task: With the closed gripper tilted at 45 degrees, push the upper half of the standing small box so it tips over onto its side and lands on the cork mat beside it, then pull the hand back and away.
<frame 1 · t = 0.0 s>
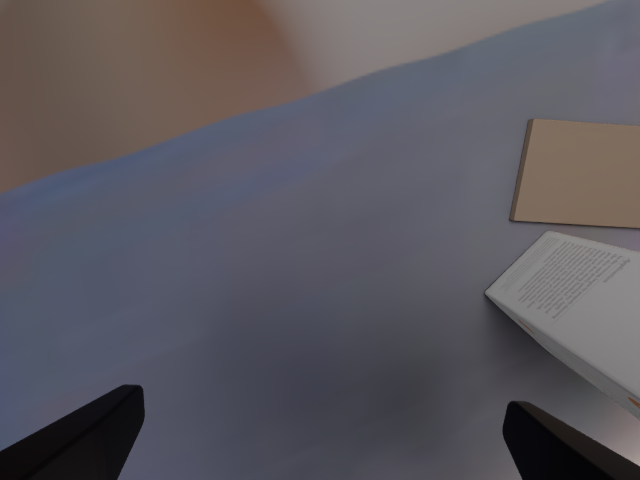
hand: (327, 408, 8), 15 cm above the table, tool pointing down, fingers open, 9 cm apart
small box: (547, 293, 23), on the table
cork mat: (609, 177, 21), on the table
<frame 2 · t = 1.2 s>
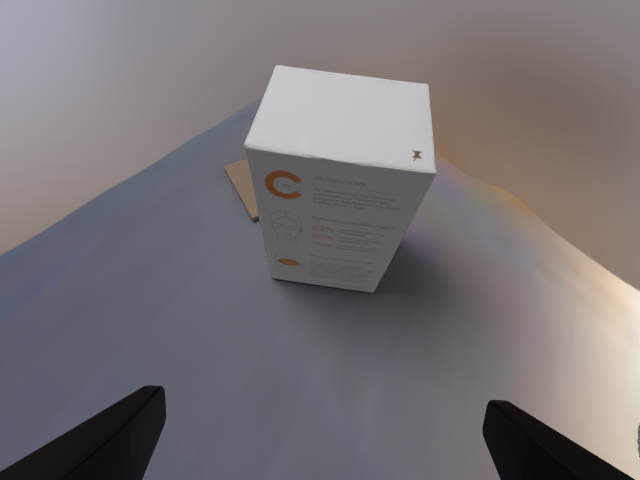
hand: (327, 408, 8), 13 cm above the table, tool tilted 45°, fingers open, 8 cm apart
small box: (326, 251, 26), on the table
cork mat: (300, 171, 30), on the table
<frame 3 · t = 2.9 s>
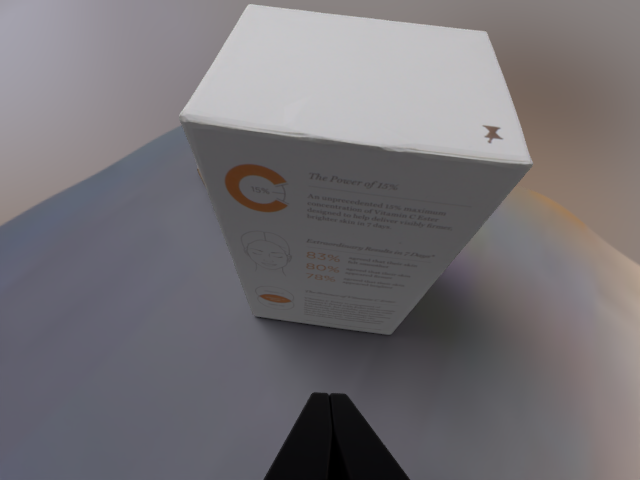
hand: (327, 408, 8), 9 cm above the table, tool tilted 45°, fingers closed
small box: (327, 278, 20), on the table
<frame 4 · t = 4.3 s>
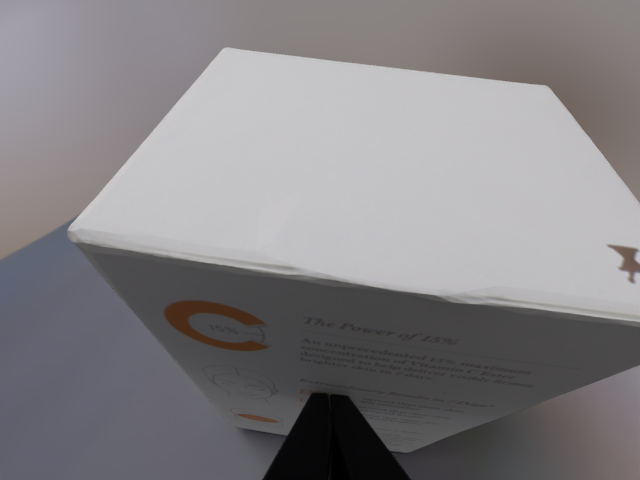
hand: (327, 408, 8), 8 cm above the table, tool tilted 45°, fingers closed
small box: (326, 367, 16), on the table, touching gripper
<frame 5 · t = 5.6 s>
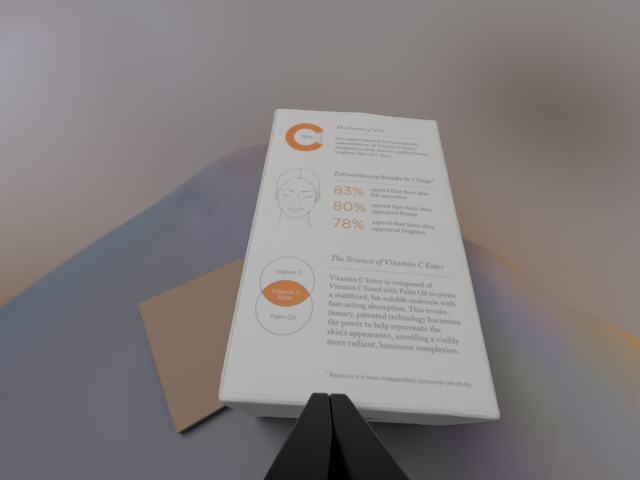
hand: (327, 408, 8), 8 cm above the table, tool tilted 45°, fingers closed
small box: (346, 425, 11), point 4 cm above the table, touching cork mat
cork mat: (277, 304, 17), on the table
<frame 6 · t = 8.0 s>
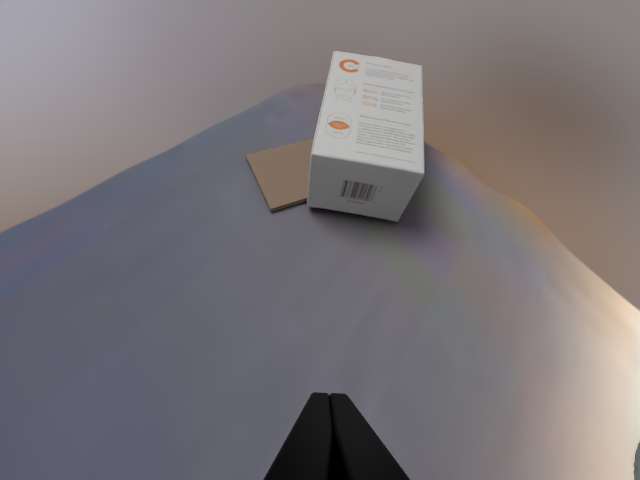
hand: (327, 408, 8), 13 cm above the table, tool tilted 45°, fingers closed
small box: (358, 195, 24), point 4 cm above the table, touching cork mat
cork mat: (321, 166, 30), on the table
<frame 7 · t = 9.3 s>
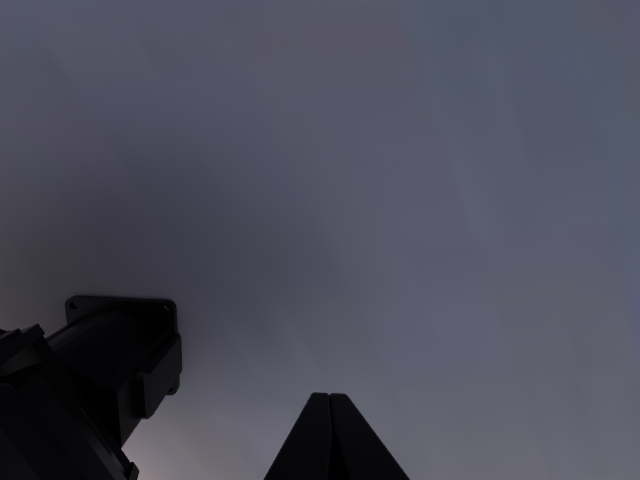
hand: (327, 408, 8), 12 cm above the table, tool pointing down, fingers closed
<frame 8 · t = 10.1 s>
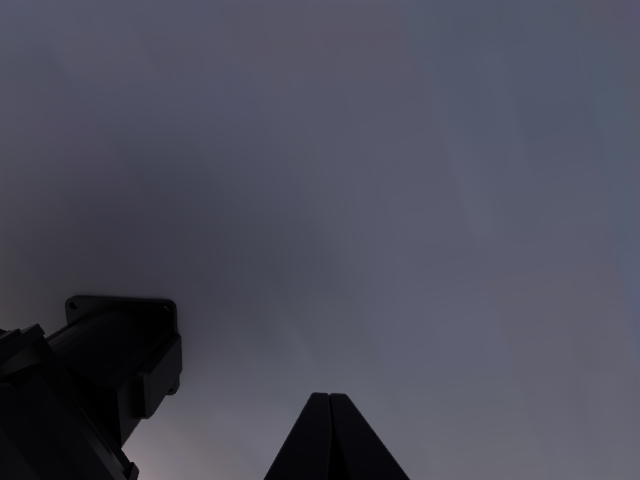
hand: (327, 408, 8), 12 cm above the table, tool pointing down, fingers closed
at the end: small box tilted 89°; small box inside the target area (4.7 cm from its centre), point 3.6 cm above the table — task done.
